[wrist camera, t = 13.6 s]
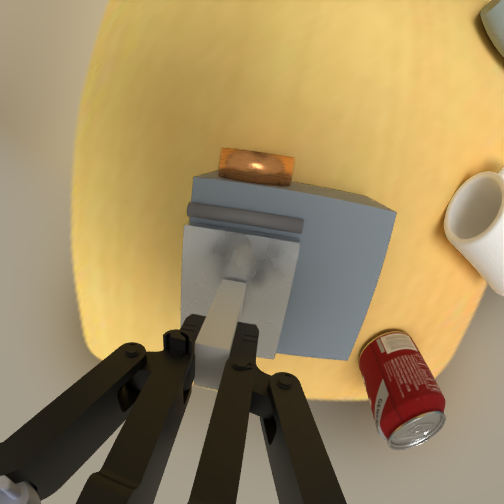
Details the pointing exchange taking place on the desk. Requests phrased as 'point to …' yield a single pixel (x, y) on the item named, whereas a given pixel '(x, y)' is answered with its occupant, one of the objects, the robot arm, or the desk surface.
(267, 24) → the desk surface
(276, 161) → the pin
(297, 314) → the grey box with lid
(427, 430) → the soda can
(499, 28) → the air freshener
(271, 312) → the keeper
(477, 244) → the mug
